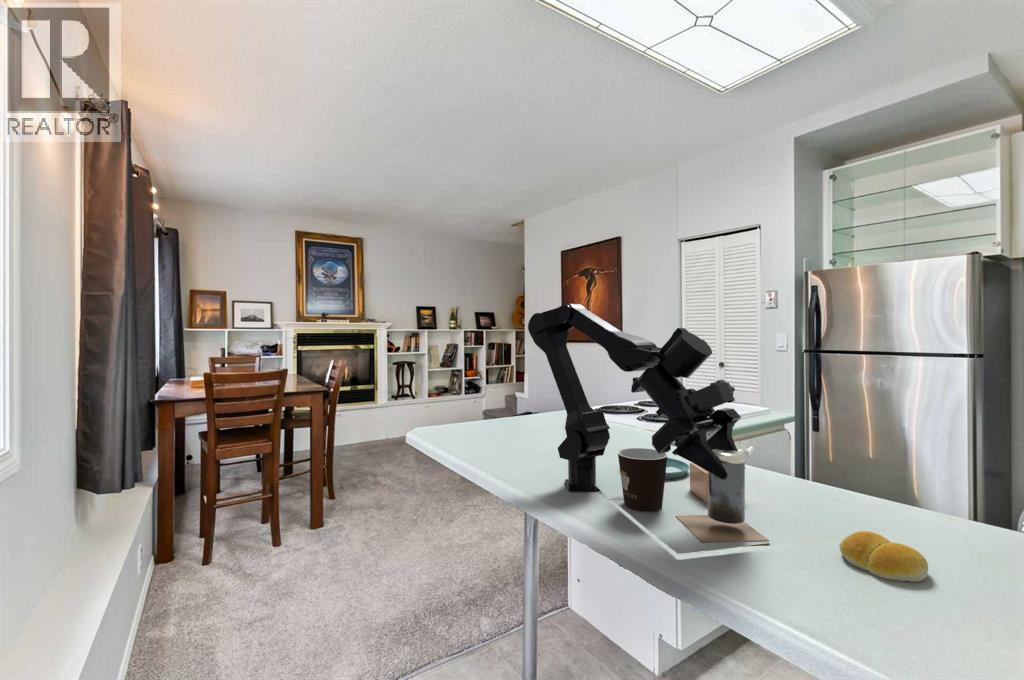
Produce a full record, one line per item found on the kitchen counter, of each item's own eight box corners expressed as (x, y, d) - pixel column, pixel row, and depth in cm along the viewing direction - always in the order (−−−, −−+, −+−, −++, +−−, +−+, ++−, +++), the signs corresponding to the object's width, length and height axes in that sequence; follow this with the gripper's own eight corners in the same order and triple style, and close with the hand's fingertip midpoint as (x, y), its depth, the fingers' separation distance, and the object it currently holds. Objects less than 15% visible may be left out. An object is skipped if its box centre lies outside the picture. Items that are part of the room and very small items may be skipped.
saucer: (700, 485, 97) (700, 472, 97) (630, 485, 97) (630, 473, 97) (675, 466, 111) (675, 455, 111) (615, 466, 111) (615, 455, 111)
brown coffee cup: (671, 519, 77) (670, 460, 77) (619, 516, 79) (618, 458, 79) (663, 496, 89) (662, 445, 89) (617, 494, 90) (616, 443, 90)
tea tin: (705, 509, 75) (705, 448, 75) (739, 512, 74) (739, 450, 74) (711, 522, 70) (711, 456, 70) (749, 525, 69) (749, 458, 68)
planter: (690, 493, 91) (689, 462, 91) (725, 492, 91) (724, 462, 91) (705, 505, 84) (705, 472, 84) (743, 505, 84) (743, 472, 84)
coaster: (675, 520, 77) (675, 515, 77) (734, 519, 77) (734, 514, 77) (701, 547, 67) (701, 541, 67) (769, 545, 67) (769, 540, 67)
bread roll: (904, 591, 55) (903, 557, 55) (829, 558, 63) (829, 529, 63) (945, 577, 58) (945, 546, 58) (869, 548, 66) (868, 520, 66)
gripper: (667, 366, 69) (742, 453, 60) (728, 362, 81) (799, 434, 72) (625, 412, 75) (688, 497, 67) (688, 402, 87) (748, 473, 78)
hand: (734, 473), depth 71 cm, fingers closed on tea tin, 5 cm apart
